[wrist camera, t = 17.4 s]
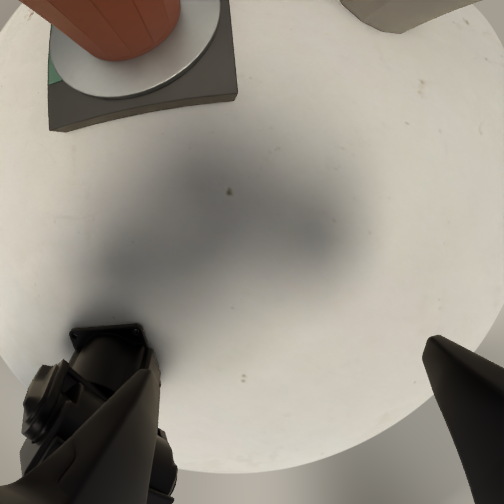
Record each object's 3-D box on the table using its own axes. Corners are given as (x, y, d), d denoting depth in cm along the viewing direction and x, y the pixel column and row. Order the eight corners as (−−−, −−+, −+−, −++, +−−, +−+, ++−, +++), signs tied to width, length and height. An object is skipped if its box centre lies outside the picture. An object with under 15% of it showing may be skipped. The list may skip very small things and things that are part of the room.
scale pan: (54, 119, 14) (48, 118, 13) (62, -15, 10) (57, -19, 9) (226, 83, 15) (227, 80, 14) (215, -49, 11) (215, -55, 11)
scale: (65, 132, 16) (47, 131, 14) (68, -4, 12) (55, -17, 10) (234, 100, 17) (238, 93, 15) (221, -36, 14) (224, -55, 11)
